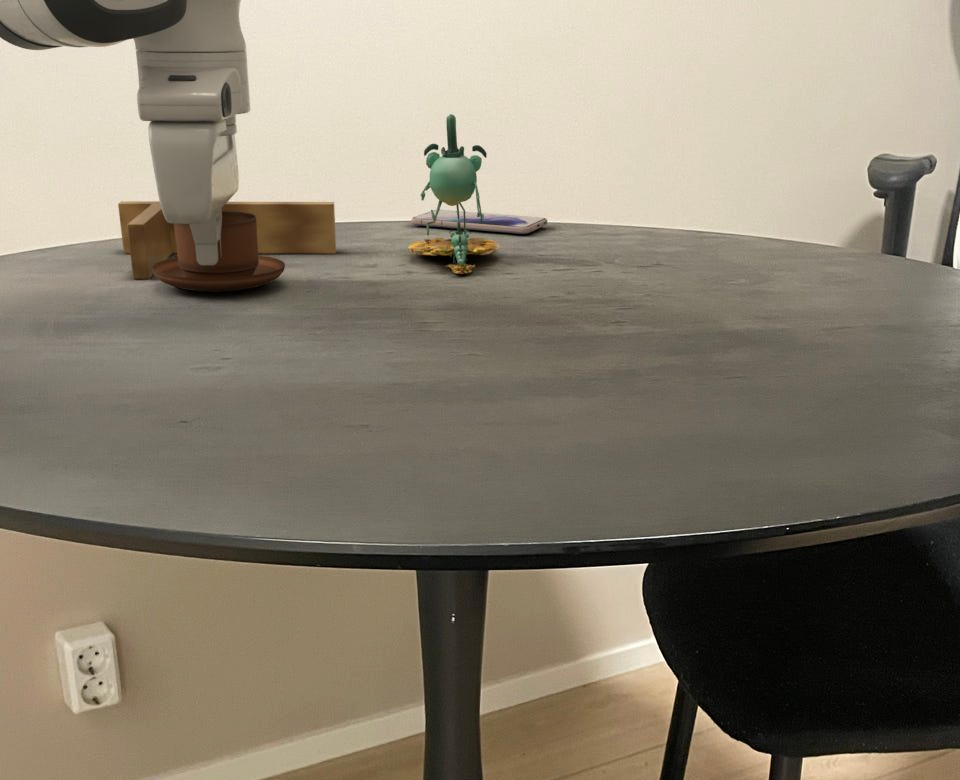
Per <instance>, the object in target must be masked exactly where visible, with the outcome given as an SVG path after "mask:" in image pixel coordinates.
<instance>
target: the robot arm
mask: <svg viewBox="0 0 960 780" xmlns="http://www.w3.org/2000/svg"><path fill="white" fill-rule="evenodd" d="M241 1H242V0H0V39H2V40H3V41H5V42H6V43H8V44H10V45H12V46H15V47H18V48H21V49H25V50H28V51H29V50H31V51H44V50H50V49H56V48H62V47H68V48H89V47H91V48H106V47H110V46H115V45H118V44H121V43H123V42H126V41H128V40H133V41H134V42H133V43H134V47H135V55H136V56H135V57H136V64H137V66H136V67H137V73H138V75H137V76H138V89H137V94H136V103H137V111H138V117H139V119H140V120H141V121H142V122H149V123H148V127H147V129H148V130H147V131H148V141H149V142H148V143H149V148H150V154H151V161H152V166H153V173H154V179H155V185H156V188H157V195H158V201H160V205H161V208H162V211H163V214H164V217H165V219H166V221H167V222H168V223H172V224H190V228H191V232H192V235H193V239H194V242H195V247H196V257H197V262H198V264H200V265H215V264H216V263H217V262H218V261H219V259H220V258H221V256H222V251H221V228H222V207H223V206H224V205H225V204H226V203H227V202H230V200H231V199H232V198H233V196H234V195H235V194H236V193H237V192H238V191H239V183H240V181H239V180H240V175H239V164H238V153H237V145H236V144H237V142H236V134H237V133H238V126H237V115H243V114H248V113H250V112H251V98H250V81H249V67H248V54H247V44H246V40H245V37H244V35H243V31H242V28H241V27H242V26H241V23H240V8H241V7H240V6H241Z"/></svg>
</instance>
